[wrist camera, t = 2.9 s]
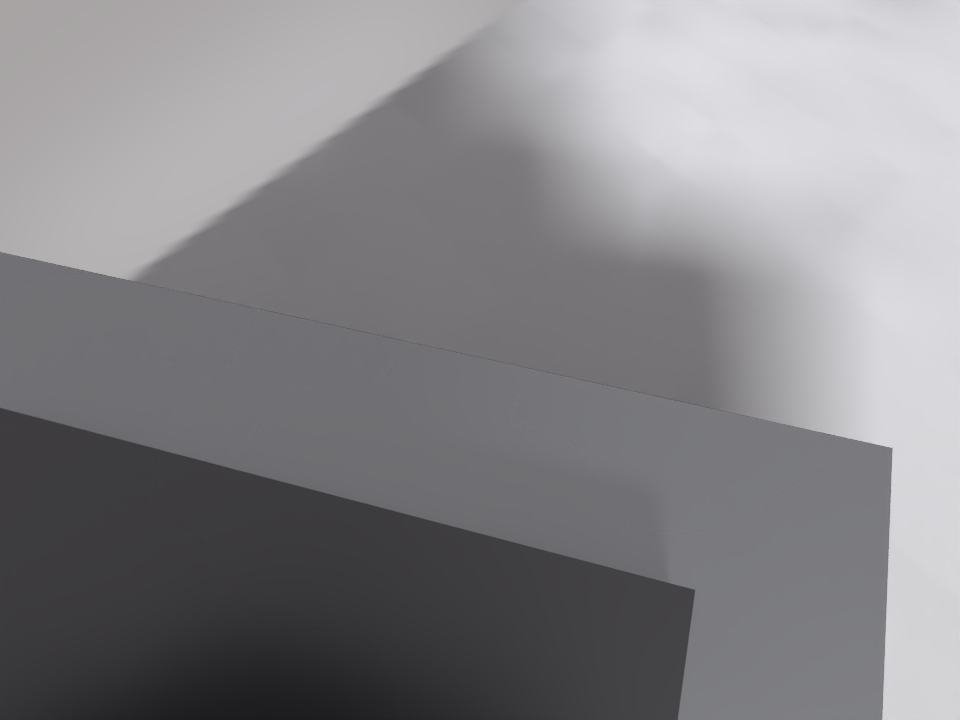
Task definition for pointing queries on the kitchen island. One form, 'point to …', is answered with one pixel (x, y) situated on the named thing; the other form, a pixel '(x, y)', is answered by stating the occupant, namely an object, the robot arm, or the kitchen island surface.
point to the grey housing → (404, 530)
